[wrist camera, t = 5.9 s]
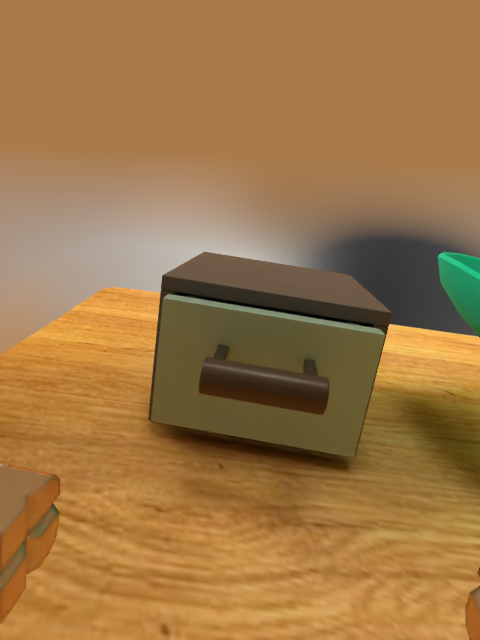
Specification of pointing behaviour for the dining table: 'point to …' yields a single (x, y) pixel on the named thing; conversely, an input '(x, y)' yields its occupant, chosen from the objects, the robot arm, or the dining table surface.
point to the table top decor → (462, 285)
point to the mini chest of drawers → (273, 292)
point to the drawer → (264, 373)
